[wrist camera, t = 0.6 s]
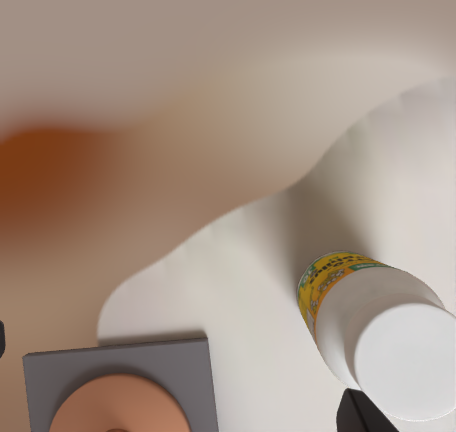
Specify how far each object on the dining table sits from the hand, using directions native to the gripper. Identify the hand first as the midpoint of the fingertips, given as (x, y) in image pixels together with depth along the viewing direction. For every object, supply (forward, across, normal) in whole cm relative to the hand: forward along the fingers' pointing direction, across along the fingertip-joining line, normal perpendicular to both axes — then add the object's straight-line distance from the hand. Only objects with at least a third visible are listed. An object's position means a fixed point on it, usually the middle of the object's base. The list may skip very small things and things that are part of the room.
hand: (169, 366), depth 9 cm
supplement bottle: (+12, -8, +3) cm, 15 cm away
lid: (+8, +4, +14) cm, 17 cm away
